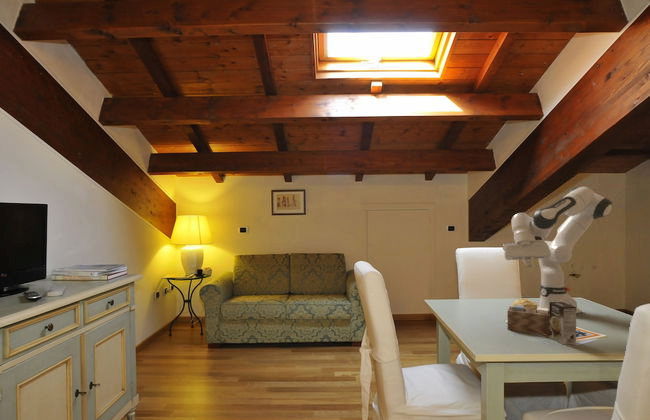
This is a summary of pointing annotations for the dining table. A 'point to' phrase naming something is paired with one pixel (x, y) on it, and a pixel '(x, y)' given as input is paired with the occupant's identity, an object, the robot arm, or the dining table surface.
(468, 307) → the dining table surface
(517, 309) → the blue key
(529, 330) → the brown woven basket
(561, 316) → the coffee box
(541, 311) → the white key
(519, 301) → the sculpture
